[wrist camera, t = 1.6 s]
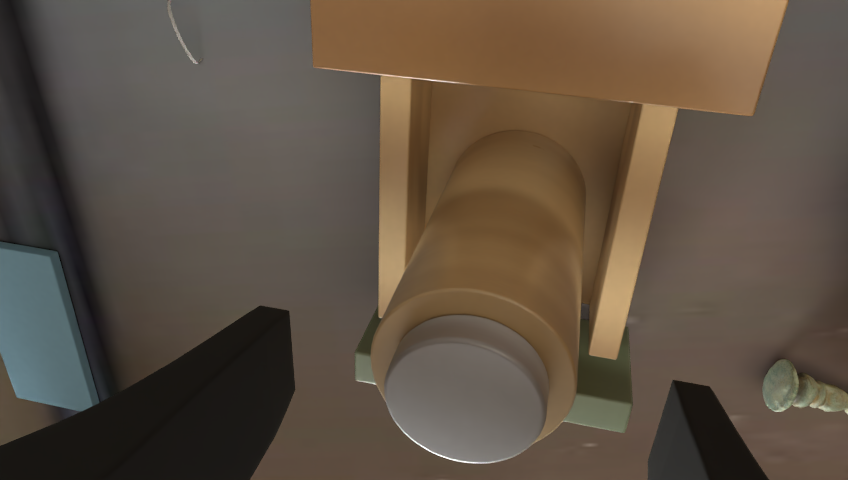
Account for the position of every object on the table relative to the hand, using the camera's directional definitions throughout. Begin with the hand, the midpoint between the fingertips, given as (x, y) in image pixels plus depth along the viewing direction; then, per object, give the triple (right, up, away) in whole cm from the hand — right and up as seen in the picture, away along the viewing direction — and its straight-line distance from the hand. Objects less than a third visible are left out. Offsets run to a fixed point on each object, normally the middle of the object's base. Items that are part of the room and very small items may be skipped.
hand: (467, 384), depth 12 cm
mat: (-19, -1, +18) cm, 26 cm away
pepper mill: (+2, +4, +7) cm, 8 cm away
